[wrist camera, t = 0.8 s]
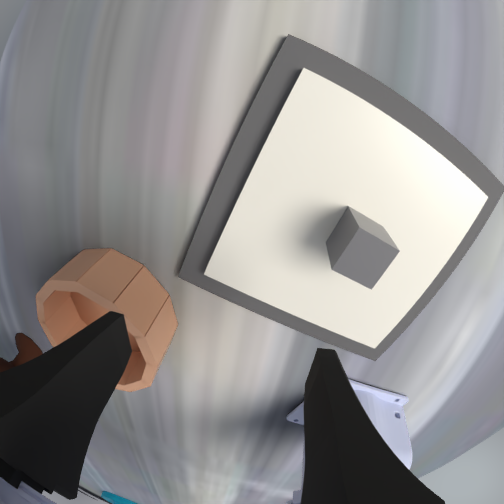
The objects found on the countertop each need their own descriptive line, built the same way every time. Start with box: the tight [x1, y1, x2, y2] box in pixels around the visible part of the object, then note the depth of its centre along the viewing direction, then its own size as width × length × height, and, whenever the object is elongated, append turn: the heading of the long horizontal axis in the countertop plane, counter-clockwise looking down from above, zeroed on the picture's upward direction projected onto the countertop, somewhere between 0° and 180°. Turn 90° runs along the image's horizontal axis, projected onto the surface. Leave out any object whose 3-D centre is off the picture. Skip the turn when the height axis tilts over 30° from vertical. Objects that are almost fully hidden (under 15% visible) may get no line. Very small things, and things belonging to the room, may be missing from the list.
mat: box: [178, 34, 504, 361], centre depth 16 cm, size 16×16×1 cm
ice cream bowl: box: [0, 333, 43, 372], centre depth 22 cm, size 11×11×15 cm
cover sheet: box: [204, 68, 488, 349], centre depth 15 cm, size 13×13×4 cm
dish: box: [36, 248, 178, 392], centre depth 20 cm, size 10×10×4 cm
